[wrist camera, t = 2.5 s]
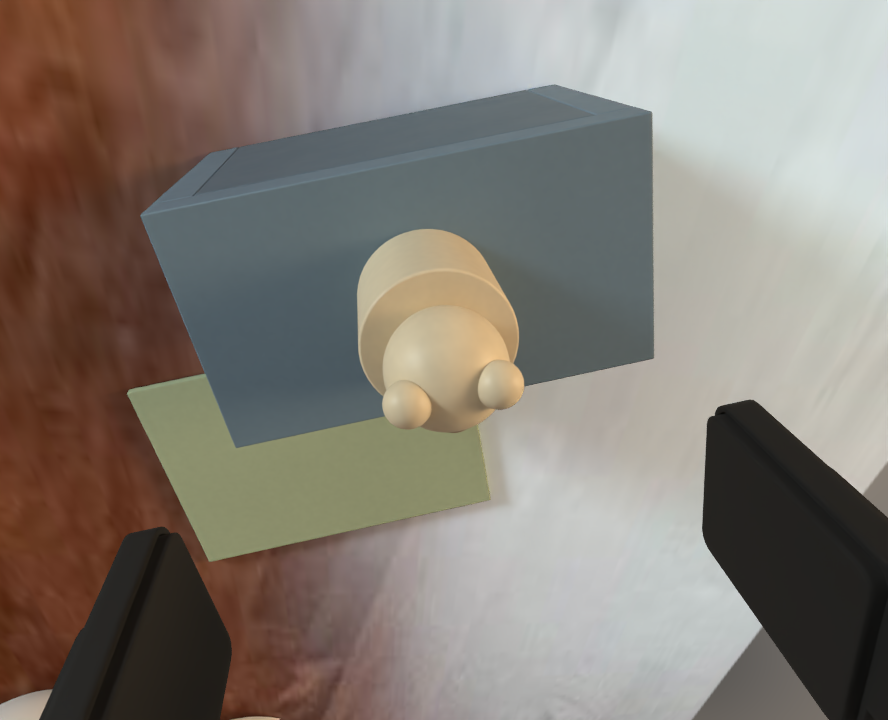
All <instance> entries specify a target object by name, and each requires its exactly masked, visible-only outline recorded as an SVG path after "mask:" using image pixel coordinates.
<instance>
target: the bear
mask: <svg viewBox="0 0 888 720" xmlns="http://www.w3.org/2000/svg"><path fill="white" fill-rule="evenodd" d="M357 312H358V353H359V358H360V363H361V365H362V368H363V371H364V373H365V375H366V377H367V379H368V380H369V382H370V383H371V384H372V386H373V387H374V388H375V389H376V390H377V391H378V392H379V393H380V394H381V395H382V396H383V401H382V408H383V412H384V415H385V417H386V418H387V420H388V421H389V422H390V423H391V424H392V425H394V426H395V427H397V428H400V429H407V430H408V429H415V428H417V427H421V428H424V429H427V430H430V431H435V432H445V433H459V432H462V431H464V430H466V429H469V428H471V427H473V426H475V425H477V424H479V423H481V422H482V421H483V420H485V419H486V418H487V417H489V416H490V415H491V414H492V413H493V412H494V411H495V410H502V409H507V408H510V407H511V406H513V405H515V404H516V403H517V402H518V401H519V399H520V398H521V396H522V394H523V391H524V379H523V376H522V373H521V372H520V370H519V369H518V368H517V367H516V366H515V365H514V364H513V363H514V360H515V358H516V354H517V350H518V343H519V328H518V323H517V319H516V316H515V313H514V310H513V308H512V306H511V305H510V303H509V301H508V299H507V297H506V296H505V294H504V292H503V290H502V289H501V287H500V285H499V283H498V282H497V280H496V278H495V276H494V275H493V273H492V271H491V269H490V268H489V266H488V264H487V262H486V261H485V259H484V258H483V256H482V255H481V253H480V252H479V251H478V250H477V249H476V248H475V247H474V246H473V245H472V244H470V243H469V242H468V241H467V240H465V239H463V238H461V237H460V236H458V235H455V234H453V233H450V232H447V231H443V230H437V229H419V230H413V231H409V232H405V233H402V234H400V235H398V236H395V237H394V238H392V239H390V240H388V241H387V242H385V243H384V244H383V245H382V246H380V247H379V248H378V249H377V250H376V251H375V252H374V253H373V254H372V256H371V257H370V258H369V260H368V261H367V263H366V265H365V266H364V268H363V270H362V273H361V275H360V279H359V283H358V290H357Z"/></svg>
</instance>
